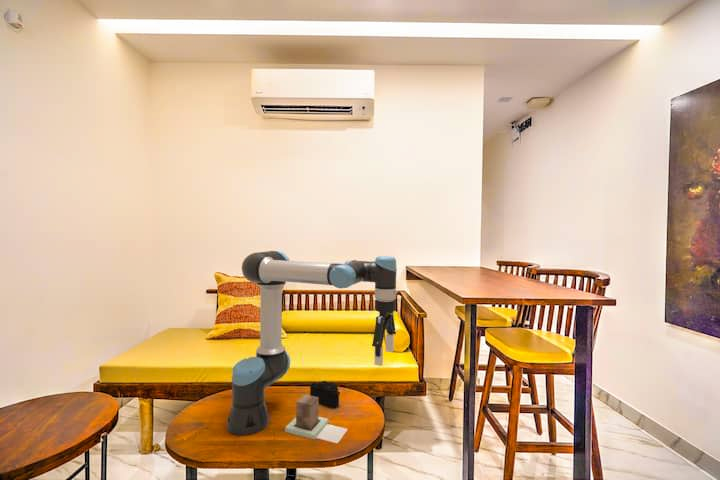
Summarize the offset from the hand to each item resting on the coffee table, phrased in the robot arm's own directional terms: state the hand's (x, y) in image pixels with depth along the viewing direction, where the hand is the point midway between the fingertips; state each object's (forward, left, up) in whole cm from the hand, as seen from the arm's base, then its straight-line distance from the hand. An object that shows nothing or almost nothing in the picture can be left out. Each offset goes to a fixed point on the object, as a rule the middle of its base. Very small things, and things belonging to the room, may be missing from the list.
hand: (384, 358), depth 121 cm
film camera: (-30, +14, -28) cm, 43 cm away
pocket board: (-27, -7, -28) cm, 40 cm away
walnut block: (-27, -7, -28) cm, 40 cm away
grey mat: (-17, -7, -28) cm, 34 cm away
